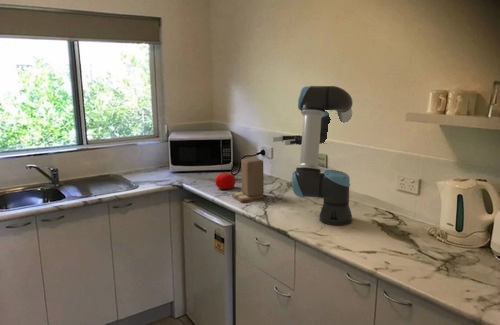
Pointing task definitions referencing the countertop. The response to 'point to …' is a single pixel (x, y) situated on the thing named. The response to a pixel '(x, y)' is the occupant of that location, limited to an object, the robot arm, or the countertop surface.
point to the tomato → (225, 181)
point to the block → (252, 177)
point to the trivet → (243, 198)
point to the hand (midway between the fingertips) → (278, 141)
